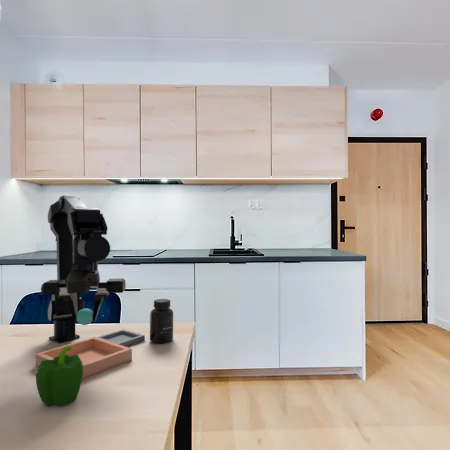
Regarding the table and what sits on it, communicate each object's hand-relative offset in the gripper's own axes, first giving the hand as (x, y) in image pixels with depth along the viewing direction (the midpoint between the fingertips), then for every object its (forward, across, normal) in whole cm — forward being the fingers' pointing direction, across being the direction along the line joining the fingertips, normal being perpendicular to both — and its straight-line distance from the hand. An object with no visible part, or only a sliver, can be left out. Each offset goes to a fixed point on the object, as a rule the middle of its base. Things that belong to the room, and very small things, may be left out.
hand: (85, 321), depth 84 cm
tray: (+10, +6, +15) cm, 19 cm away
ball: (-1, 0, 0) cm, 1 cm away
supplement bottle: (+11, +18, +14) cm, 26 cm away
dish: (+10, 0, 0) cm, 10 cm away
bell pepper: (+11, 0, -18) cm, 21 cm away
